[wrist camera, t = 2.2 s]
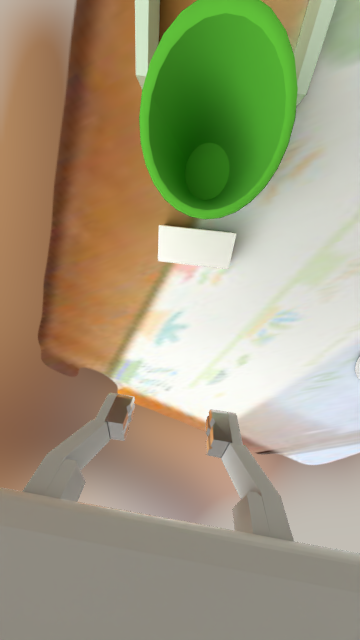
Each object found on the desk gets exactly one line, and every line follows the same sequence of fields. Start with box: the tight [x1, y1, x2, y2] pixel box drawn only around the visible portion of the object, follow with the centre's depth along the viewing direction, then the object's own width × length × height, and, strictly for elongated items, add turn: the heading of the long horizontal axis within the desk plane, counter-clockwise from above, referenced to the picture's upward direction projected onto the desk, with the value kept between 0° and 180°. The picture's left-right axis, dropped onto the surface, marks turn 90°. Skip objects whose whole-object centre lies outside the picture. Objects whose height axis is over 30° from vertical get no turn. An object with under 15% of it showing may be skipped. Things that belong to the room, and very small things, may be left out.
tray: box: [135, 0, 337, 106], centre depth 13 cm, size 14×9×4 cm, turn 83°
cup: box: [139, 0, 298, 219], centre depth 15 cm, size 9×9×11 cm
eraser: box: [158, 225, 237, 269], centre depth 22 cm, size 9×4×4 cm, turn 85°
